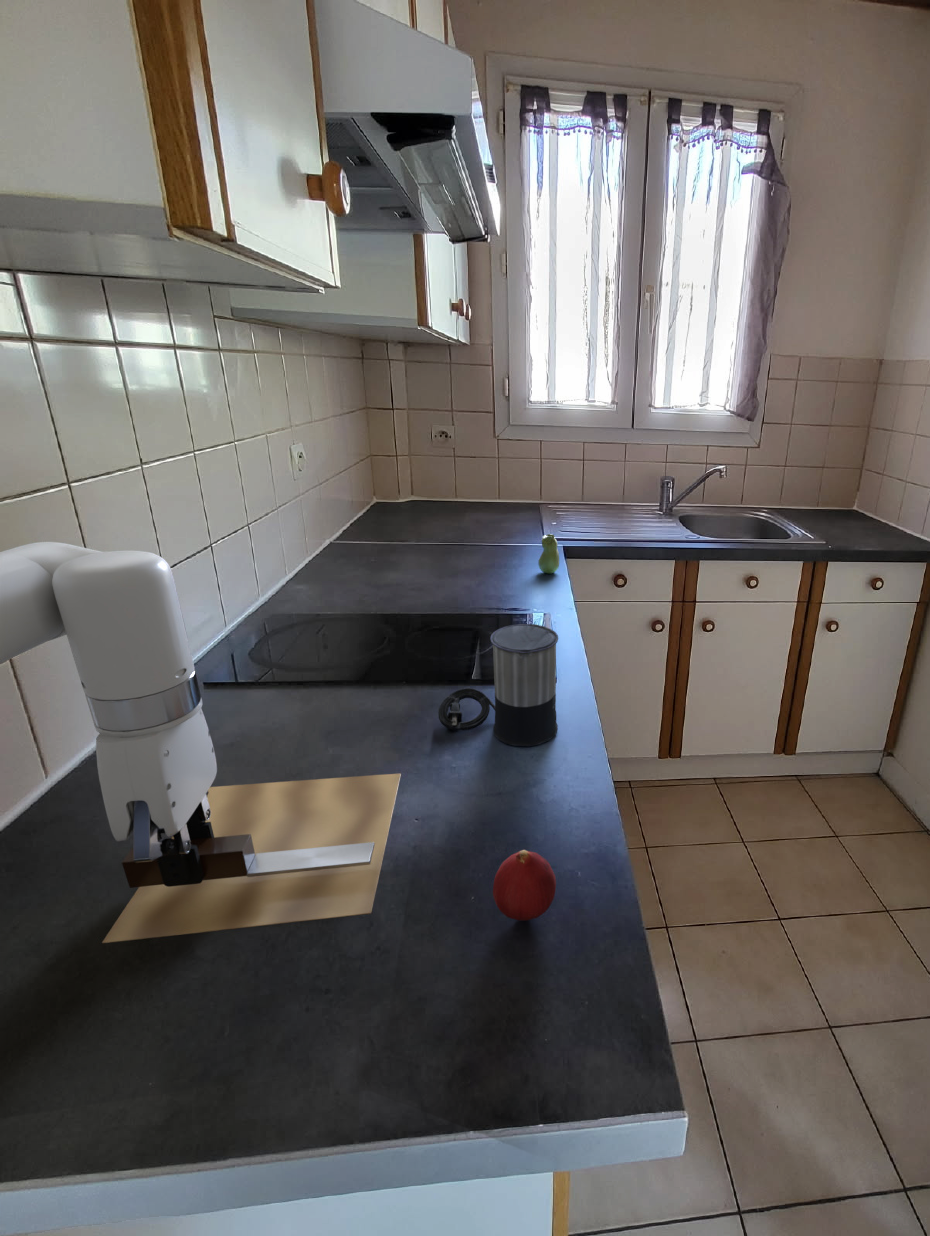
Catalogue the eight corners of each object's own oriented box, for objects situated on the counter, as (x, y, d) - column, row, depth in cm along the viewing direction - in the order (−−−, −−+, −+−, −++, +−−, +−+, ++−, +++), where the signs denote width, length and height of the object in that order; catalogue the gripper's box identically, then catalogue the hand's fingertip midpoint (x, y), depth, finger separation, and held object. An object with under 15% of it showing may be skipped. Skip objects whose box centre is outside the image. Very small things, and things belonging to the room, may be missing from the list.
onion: (511, 887, 64) (509, 822, 61) (564, 901, 63) (565, 836, 60) (483, 931, 59) (480, 863, 56) (541, 948, 58) (540, 879, 55)
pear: (558, 576, 159) (558, 537, 156) (537, 575, 159) (537, 536, 156) (559, 570, 165) (560, 532, 161) (539, 569, 164) (539, 531, 161)
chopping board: (105, 955, 55) (100, 943, 55) (207, 797, 75) (205, 787, 75) (372, 925, 59) (371, 913, 59) (402, 783, 79) (401, 772, 79)
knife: (128, 890, 58) (120, 864, 57) (143, 867, 61) (135, 842, 60) (370, 865, 62) (366, 840, 61) (374, 845, 65) (371, 821, 64)
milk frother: (567, 740, 90) (568, 644, 84) (454, 764, 83) (448, 662, 78) (535, 695, 102) (534, 608, 96) (434, 713, 95) (427, 621, 90)
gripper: (144, 660, 60) (185, 818, 67) (33, 756, 46) (100, 946, 52) (230, 656, 62) (262, 812, 68) (150, 748, 47) (201, 935, 54)
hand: (192, 869), depth 60 cm, fingers closed on knife, 2 cm apart
